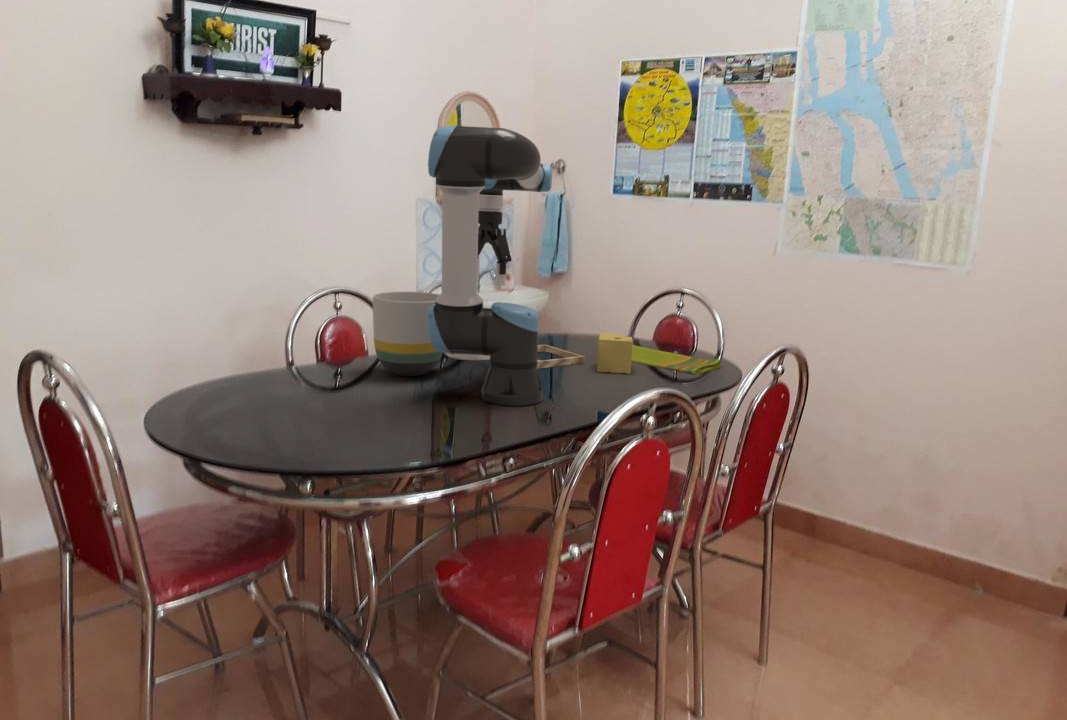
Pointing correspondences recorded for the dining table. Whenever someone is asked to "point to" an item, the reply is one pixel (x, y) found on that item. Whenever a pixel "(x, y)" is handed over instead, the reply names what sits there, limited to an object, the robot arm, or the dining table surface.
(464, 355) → the bowl
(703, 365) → the dish towel
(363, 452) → the dining table surface
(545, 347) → the wooden frame
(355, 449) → the dining table surface
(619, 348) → the cheese
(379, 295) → the planter
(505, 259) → the robot arm
